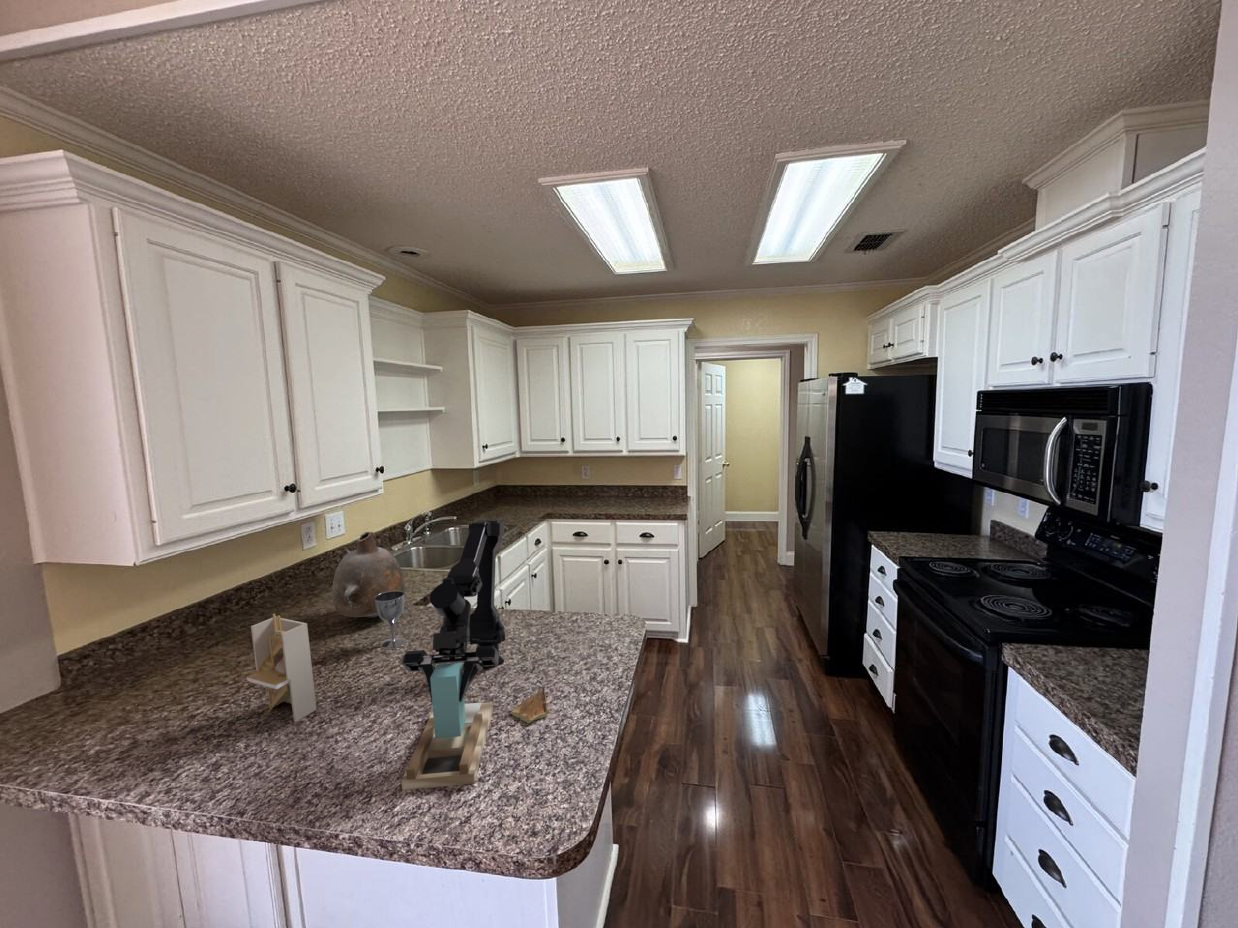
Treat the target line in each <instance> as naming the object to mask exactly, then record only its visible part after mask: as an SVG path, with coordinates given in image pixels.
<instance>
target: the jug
mask: <svg viewBox="0 0 1238 928" xmlns="http://www.w3.org/2000/svg"><path fill="white" fill-rule="evenodd" d="M356 544H357V546H356V549H354V550H352V551H350V550H349V549H348V548H345V549H343V551H342V556H343V558H342V559H341V561H339V563H338V565H337V567H336V568H335V572H334V574H333V575H334V576H333V582H332V599H333V605H334V608H335V610H336V612H337V613H338V614H340V615H341V616H344V617H345V616H346V617H350V618H360V617H361V618H363V617H364V618H369V619H372V618H376V617H379V616H378V614H377V611H376V607H375V596H377V595H378V594H380V593H383V592H387V591H395V590H398V591H402V592H404V598H405V595H406V584H405V583H406V582H405V577H404V572H403V570H402V568H401V565H400V564H399V562H398V560H397V558H396V557H395V555H394V554H393V553H392V552H390V551H389V550H387V548H386V549H385V548H384V547H383V548H382V547H380V546H377V543H376V541H375V537H374V531H366V532H364V533H361V535H360V536H359V538H358V539H357V543H356Z"/></svg>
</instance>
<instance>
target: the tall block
mask: <svg viewBox="0 0 1238 928" xmlns="http://www.w3.org/2000/svg"><path fill="white" fill-rule="evenodd" d="M463 672H464V671H463V662H458V663H445V664H436V666H435V670H434V672H433V674H432V675H431V677H430V681H431V693H432V702H431V704H432V705H431V706H432V711H433V719H434V732H435V738H447V737H458V736H461V734H462V731H463V728H464V725H465V722H466V715H465V704H466V703H465V698H464V699H463V701H462V702H460V701H459V695H460V688H461V683H462V678H463Z"/></svg>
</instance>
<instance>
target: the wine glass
mask: <svg viewBox="0 0 1238 928" xmlns="http://www.w3.org/2000/svg"><path fill="white" fill-rule="evenodd" d="M375 607H376V611H377V614H378V616H377V617H378V618H380V619H381V620H382V621H384V622H385V623H387V625H388V626H389V630H390V636H391V638H389V639H387V640H384V641H383V642H382V643H381V644H380V648H381V649H382V650H394V649H398V648H401V647H403V646H404V645H405V644H406V643H407V639H406V638H404V637H395V625H396V622H397V621H398V620H399V618H400V617H401V615H402V614H403V612H404V609H405V597H404V592H402V591H398V590H395V591H387V592H383V593H380V594H378V595H377V596H375Z"/></svg>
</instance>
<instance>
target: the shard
mask: <svg viewBox="0 0 1238 928" xmlns="http://www.w3.org/2000/svg"><path fill="white" fill-rule="evenodd" d="M546 696H547V695H546V693H545V687H542V689H540V690H538V692H536V693H535V694H533V695H531V696H530V697H528V698H527V699H525V700H523V701H522V702H521V703H520V704H518V705H517V706H515V708H513V709H512V711H511V715H512V716H513V717H515V718H517V719H519V720H522V721H523V722H525V723H527V724H528V725H529V724H530V723H532V722H533V721H536V720H539V719H544V718H547V717H548V715H549V714H548V707H547V697H546Z"/></svg>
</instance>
